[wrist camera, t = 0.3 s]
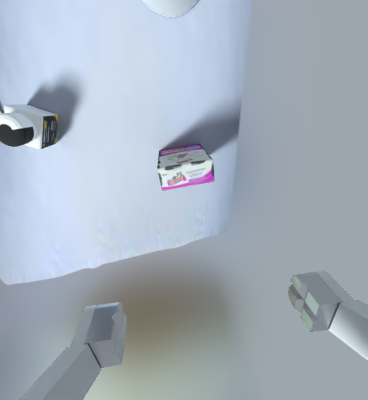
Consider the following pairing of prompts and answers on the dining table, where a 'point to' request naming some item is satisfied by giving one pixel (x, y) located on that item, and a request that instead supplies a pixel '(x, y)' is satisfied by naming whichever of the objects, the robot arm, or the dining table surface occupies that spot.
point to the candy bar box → (184, 167)
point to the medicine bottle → (28, 126)
